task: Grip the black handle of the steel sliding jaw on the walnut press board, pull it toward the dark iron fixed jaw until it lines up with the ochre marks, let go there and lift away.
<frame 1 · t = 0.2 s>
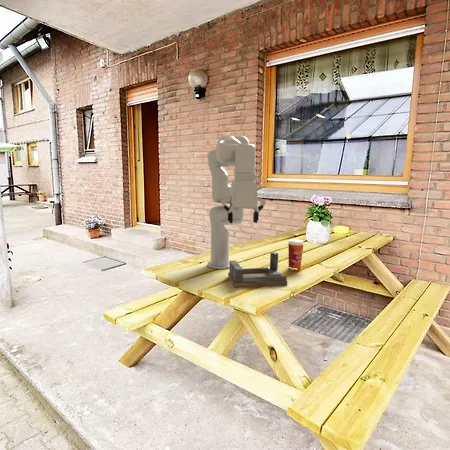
hand: (243, 222, 128), 31 cm above the table, tool pointing down, fingers open, 9 cm apart
coffee cup: (294, 269, 174), on the table
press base: (256, 280, 155), on the table
press carriage: (273, 264, 155), point 8 cm above the table, slide at 0.0 cm
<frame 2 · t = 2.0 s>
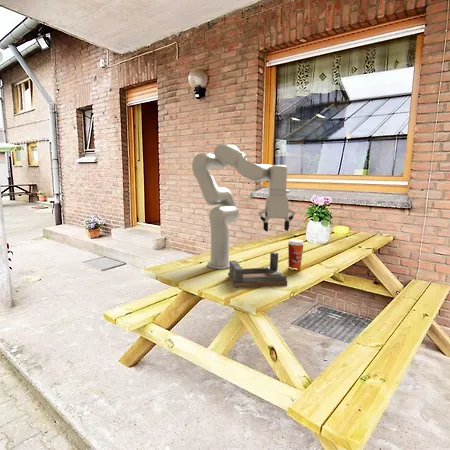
hand: (276, 230, 152), 24 cm above the table, tool pointing down, fingers open, 9 cm apart
nothing on the table moved.
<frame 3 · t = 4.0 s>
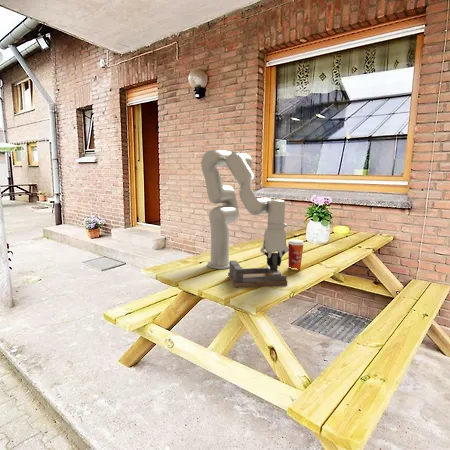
hand: (273, 265, 155), 7 cm above the table, tool pointing down, fingers closed on press carriage, 3 cm apart
press carriage: (273, 264, 155), point 8 cm above the table, slide at 0.0 cm, touching gripper
everything else where it was.
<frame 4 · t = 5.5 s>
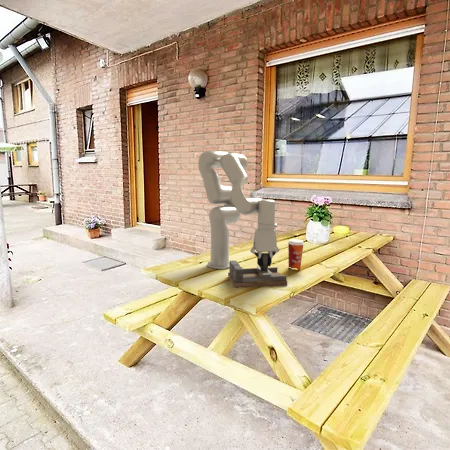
hand: (264, 265, 154), 7 cm above the table, tool pointing down, fingers closed on press carriage, 3 cm apart
press carriage: (264, 264, 154), point 8 cm above the table, slide at 4.7 cm, touching gripper
everything else where it was.
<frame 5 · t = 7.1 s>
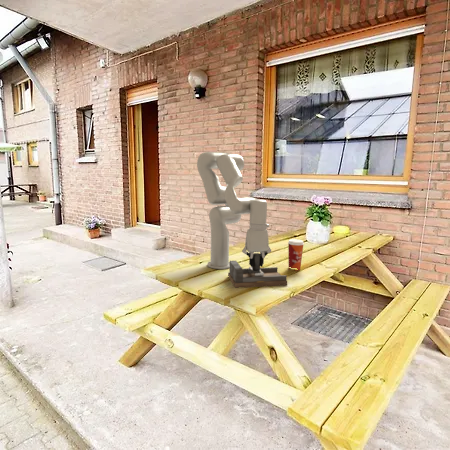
hand: (256, 265, 154), 7 cm above the table, tool pointing down, fingers closed on press carriage, 3 cm apart
press carriage: (256, 265, 154), point 8 cm above the table, slide at 8.5 cm, touching gripper
everything else where it was.
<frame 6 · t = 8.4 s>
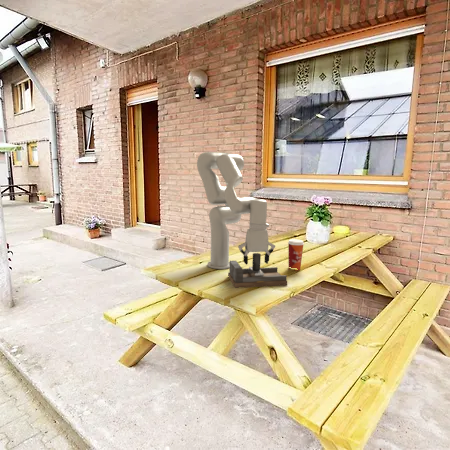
hand: (256, 263, 153), 8 cm above the table, tool pointing down, fingers open, 9 cm apart
press carriage: (256, 265, 154), point 8 cm above the table, slide at 8.5 cm
everything else where it was.
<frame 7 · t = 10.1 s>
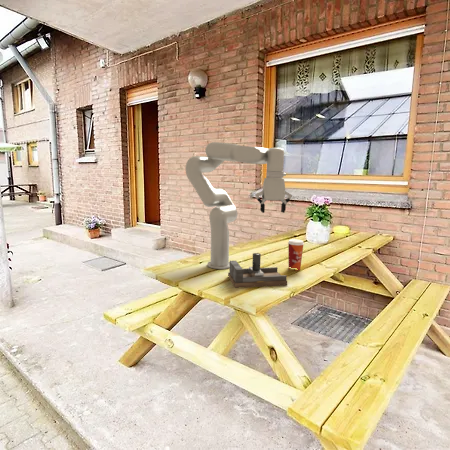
hand: (272, 212, 156), 31 cm above the table, tool pointing down, fingers open, 9 cm apart
nothing on the table moved.
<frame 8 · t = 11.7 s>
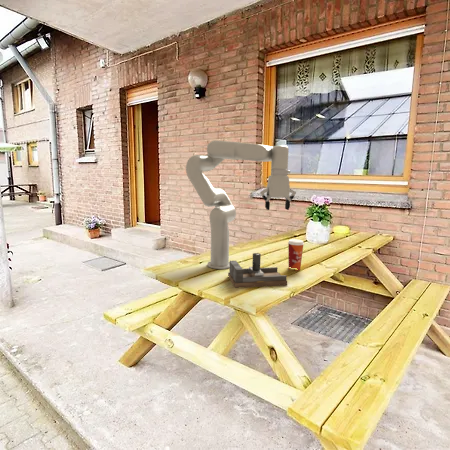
hand: (277, 209, 158), 32 cm above the table, tool pointing down, fingers open, 9 cm apart
nothing on the table moved.
at the end: press carriage slide at 8.5 cm; the gripper is holding nothing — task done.
